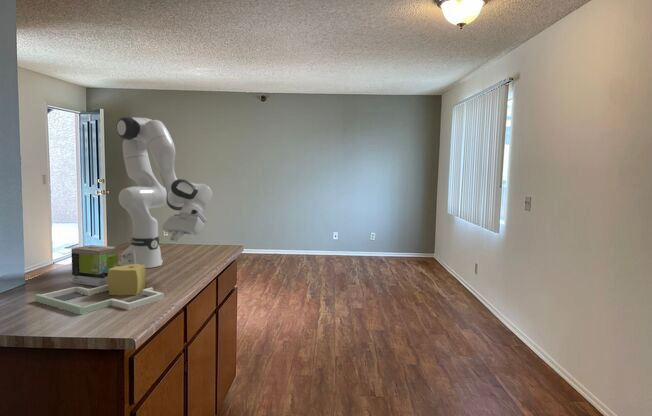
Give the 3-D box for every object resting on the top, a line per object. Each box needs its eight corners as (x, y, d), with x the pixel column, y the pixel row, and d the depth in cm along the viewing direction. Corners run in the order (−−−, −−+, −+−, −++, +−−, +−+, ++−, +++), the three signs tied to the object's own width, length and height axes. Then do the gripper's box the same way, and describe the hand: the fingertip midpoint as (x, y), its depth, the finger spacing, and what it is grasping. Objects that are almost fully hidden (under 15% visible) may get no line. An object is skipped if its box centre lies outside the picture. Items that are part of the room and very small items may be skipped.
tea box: (119, 281, 170) (118, 246, 169) (99, 287, 161) (98, 250, 159) (92, 277, 175) (91, 243, 174) (71, 283, 166) (70, 247, 164)
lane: (35, 301, 142) (35, 294, 142) (109, 283, 167) (109, 277, 167) (97, 320, 126) (97, 312, 126) (169, 296, 151) (169, 290, 150)
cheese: (119, 288, 160) (118, 263, 159) (147, 288, 161) (146, 263, 160) (107, 296, 150) (106, 269, 149) (137, 296, 151) (136, 269, 150)
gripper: (169, 210, 183) (151, 234, 175) (201, 211, 173) (185, 237, 165) (177, 218, 187) (160, 242, 180) (209, 220, 177) (193, 246, 170)
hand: (172, 240), depth 172 cm, fingers closed
